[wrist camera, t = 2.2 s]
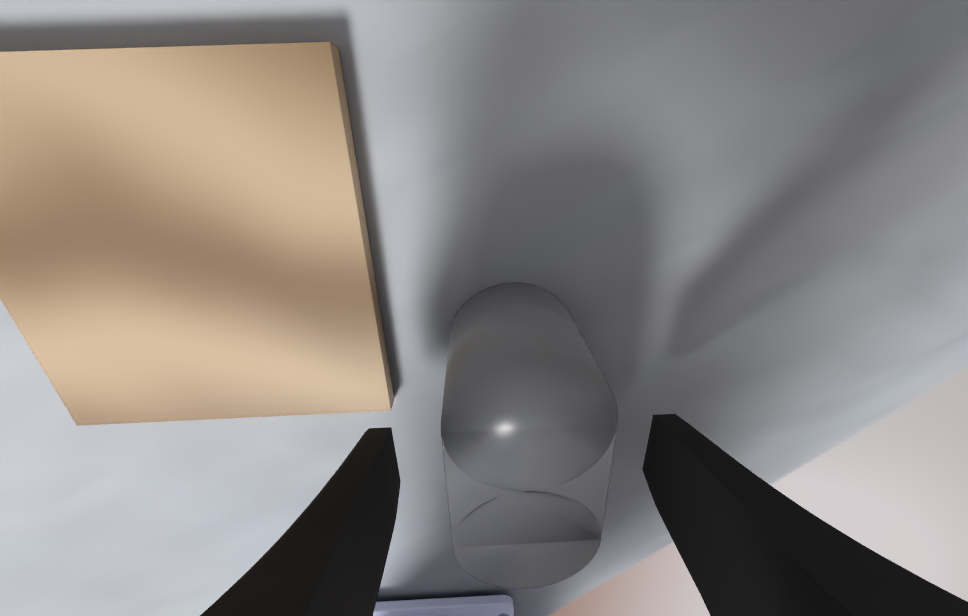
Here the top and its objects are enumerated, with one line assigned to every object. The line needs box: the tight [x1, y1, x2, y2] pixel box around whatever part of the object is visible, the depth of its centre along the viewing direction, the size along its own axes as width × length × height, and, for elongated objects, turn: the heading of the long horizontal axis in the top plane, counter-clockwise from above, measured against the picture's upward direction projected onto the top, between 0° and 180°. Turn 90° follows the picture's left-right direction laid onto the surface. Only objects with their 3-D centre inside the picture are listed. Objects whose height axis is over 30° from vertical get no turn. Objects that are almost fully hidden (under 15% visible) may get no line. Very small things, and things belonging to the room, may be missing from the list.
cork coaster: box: [0, 42, 394, 425], centre depth 11 cm, size 10×10×1 cm
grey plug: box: [441, 283, 618, 589], centre depth 12 cm, size 10×4×4 cm, turn 2°
